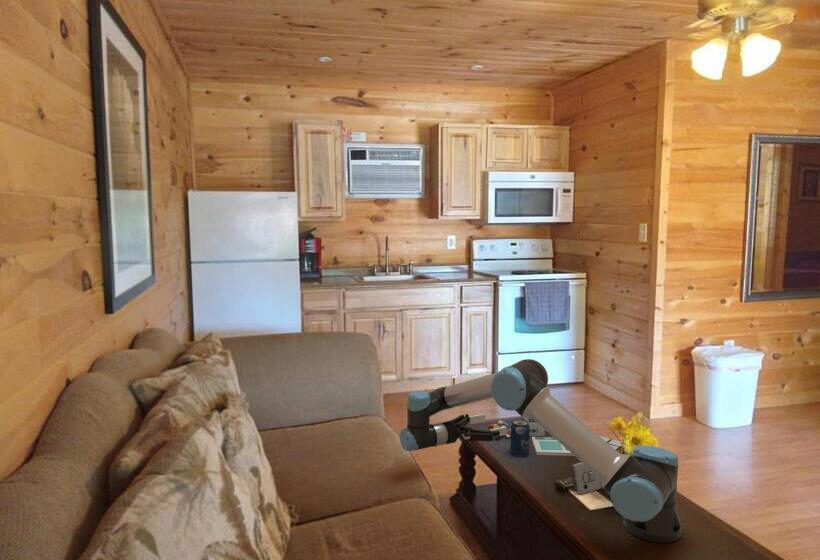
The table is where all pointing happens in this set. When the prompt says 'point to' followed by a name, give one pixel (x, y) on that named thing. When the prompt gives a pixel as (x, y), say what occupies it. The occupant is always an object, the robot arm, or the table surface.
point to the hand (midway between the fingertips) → (495, 423)
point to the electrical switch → (584, 478)
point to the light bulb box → (535, 428)
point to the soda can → (520, 437)
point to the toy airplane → (493, 426)
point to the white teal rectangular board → (549, 447)
